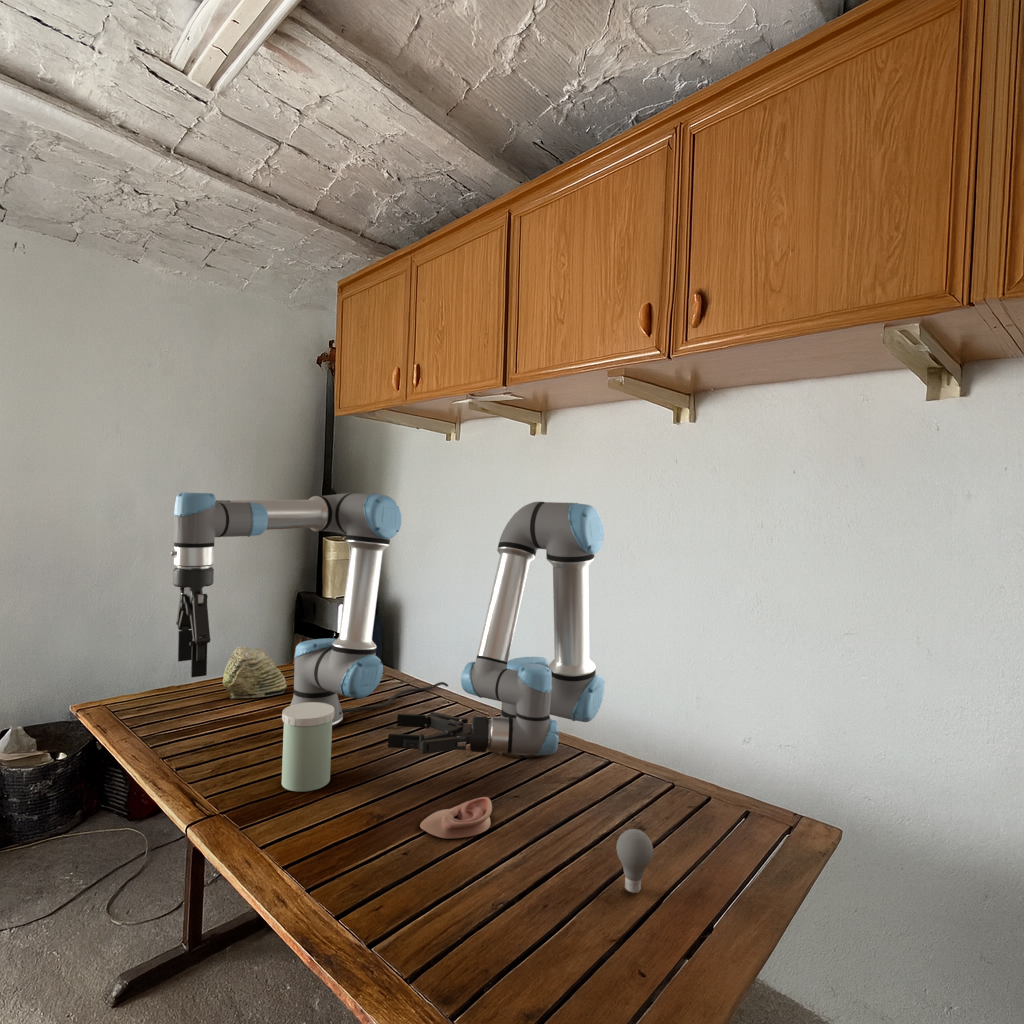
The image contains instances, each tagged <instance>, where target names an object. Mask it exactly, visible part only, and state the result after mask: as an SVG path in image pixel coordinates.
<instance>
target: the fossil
mask: <svg viewBox="0 0 1024 1024" xmlns="http://www.w3.org/2000/svg"><path fill="white" fill-rule="evenodd" d="M222 676H223V677H222V685H223V687H224V688H225V690H226V691H228V693H229V698H230V699H250V698H264V697H271V696H275V695H281V694H284V693H285V691H286V689H287V687H288V686H287V680H286V678H285V676H284V674H283V673H282V672H281V669H279V668H278V667H277V665H276V663H275V662H274V660H273V659H272V658H271V657H270V656H269V655H268V654H267V653H266V652H265V650H264V649H263V648H260V647H258V648H251V647H247V646H246V647H245V646H238V647H237V648H236V649H235V650H233V651H232V653H231V656H230V657H229V659H228V660H227V663H226V666H225V668H224V671H223V675H222Z"/></svg>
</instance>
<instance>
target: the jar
mask: <svg viewBox="0 0 1024 1024" xmlns="http://www.w3.org/2000/svg"><path fill="white" fill-rule="evenodd" d="M282 731H283V735H282V757H281V758H282V760H281V761H282V762H281V786H282V788H284V789H285V790H287V791H292V792H297V793H298V792H299V793H300V792H303V793H304V792H312V791H315V790H319V789H321V788H324V787H325V786H326V785H328V784H329V783H330V781H331V767H332V765H331V763H332V742H333V741H332V740H333V737H332V736H333V729H332V720H331V721H329V722H327V723H324V724H321V725H316V726H304V727H303V726H292V725H288V724H286V723H284V722H283V730H282Z"/></svg>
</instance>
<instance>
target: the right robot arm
mask: <svg viewBox="0 0 1024 1024" xmlns="http://www.w3.org/2000/svg"><path fill="white" fill-rule="evenodd" d="M600 515H601V514H600V513H599V512H598V510H597V509H596V508H595V507H594V506H592V505H590V504H587V503H586V504H584V503H579V502H553V501H552V502H550V501H533V502H529V503H527V504H525V505H523V506H522V507H521V508H519V509H518V510H517V511H516V512H514V514H513V515H512V517H511V518H510V519H509V520H508V521H507V523H506V525H505V526H504V528H503V530H502V533H501V535H500V537H499V539H498V540H499V541H498V545H497V549H496V551H497V552H498V554H499V559H498V563H497V568H496V572H495V575H494V581H493V585H492V589H491V590H492V591H491V593H490V598H489V602H488V607H487V610H486V611H487V612H486V615H485V620H484V625H483V628H482V633H481V637H480V641H479V646H478V650H477V651H478V652H477V654H476V658H475V661H470V662H467V663H466V664H465V666H464V669H463V670H462V672H461V675H460V684H461V688H462V690H463V691H464V692H465V693H467V694H469V695H473V696H475V697H478V698H480V699H482V698H483V699H488V700H492V701H497V702H500V703H501V710H500V711H501V713H500V716H491V717H490V718H489V717H488V716H482V715H481V716H480V715H474V716H472V718H471V723H469V718H467V717H459V716H454V715H448V714H443V713H439V712H435V711H431V712H429V713H427V714H412V713H411V714H410V713H397V721H396V727H398V728H399V727H400V728H421V729H425V730H428V729H429V730H430V729H434V730H436V731H439V732H438V733H433V734H429V735H424V734H423V733H419V734H407V733H388V738H387V748H388V749H411V750H419V751H420V754H422V755H428V754H434V753H435V754H436V753H442V752H450V751H466V749H467V744H469V745H470V747H469V750H470V751H471V752H473V753H486V752H487V751H488V752H490V753H494V754H495V753H498V754H497V755H500V756H502V755H504V756H506V757H507V756H508V757H511V758H517V759H533V758H539V757H542V756H550V755H551V756H552V755H555V754H556V753H557V750H558V749H559V733H560V732H559V723H558V721H557V720H555V719H551V716H554V717H558V718H562V719H567V720H570V721H572V722H575V721H577V722H580V723H581V722H582V723H589V722H591V721H592V720H593V719H595V717H596V716H597V714H598V712H599V711H600V708H601V705H602V704H603V700H604V695H605V689H606V684H605V680H604V677H602V676H600V675H599V674H597V673H596V672H597V671H596V668H597V667H596V664H595V663H594V662H593V660H591V659H590V608H589V607H590V602H589V599H590V598H589V595H590V594H589V566H590V564H591V563H592V562H593V561H594V560H595V554H598V553H599V552H600V551H601V549H602V547H603V541H604V535H605V534H604V525H603V521H602V517H601V516H600ZM538 550H546V551H545V552H546V554H545V555H546V558H545V559H546V561H547V562H548V563H549V564H551V565H552V593H553V597H552V598H553V599H552V600H553V635H554V636H553V644H554V645H553V646H554V647H553V649H554V659H552V660H551V661H550V663H549V660H548V658H545V657H544V656H522V657H515V658H512V659H509V658H510V653H511V648H512V644H513V640H514V635H515V632H516V631H515V630H516V627H517V622H518V616H519V614H520V608H521V603H522V599H523V595H524V590H525V586H526V581H527V576H528V572H529V567H530V563H531V562H533V561H534V560H535V559H536V555H537V551H538ZM550 715H551V716H550Z"/></svg>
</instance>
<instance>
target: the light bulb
mask: <svg viewBox="0 0 1024 1024" xmlns="http://www.w3.org/2000/svg"><path fill="white" fill-rule="evenodd" d="M615 849H616V854H617V857H618V859H619V861H620V863H621V865H622V867H623V873H624V874H623V875H624V876H625V878H624V888H625V890H627V891H628V892H630V893H634V894H635V893H639V892H640V891H641V889H642V887H641V886H642V879H643V877H644V875H645V871H646V868H647V867H648V866H649V864H650V863H651V861H652V859H653V855H654V847H653V843H652V841H651V838H649V836H648V835H647V834H646V833H645V832H643V831H642V830H641V829H636V828H629V829H627V830H625V831H623V832H622V833H621V834H620V835H619V837H618V839H617V841H616V847H615Z"/></svg>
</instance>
